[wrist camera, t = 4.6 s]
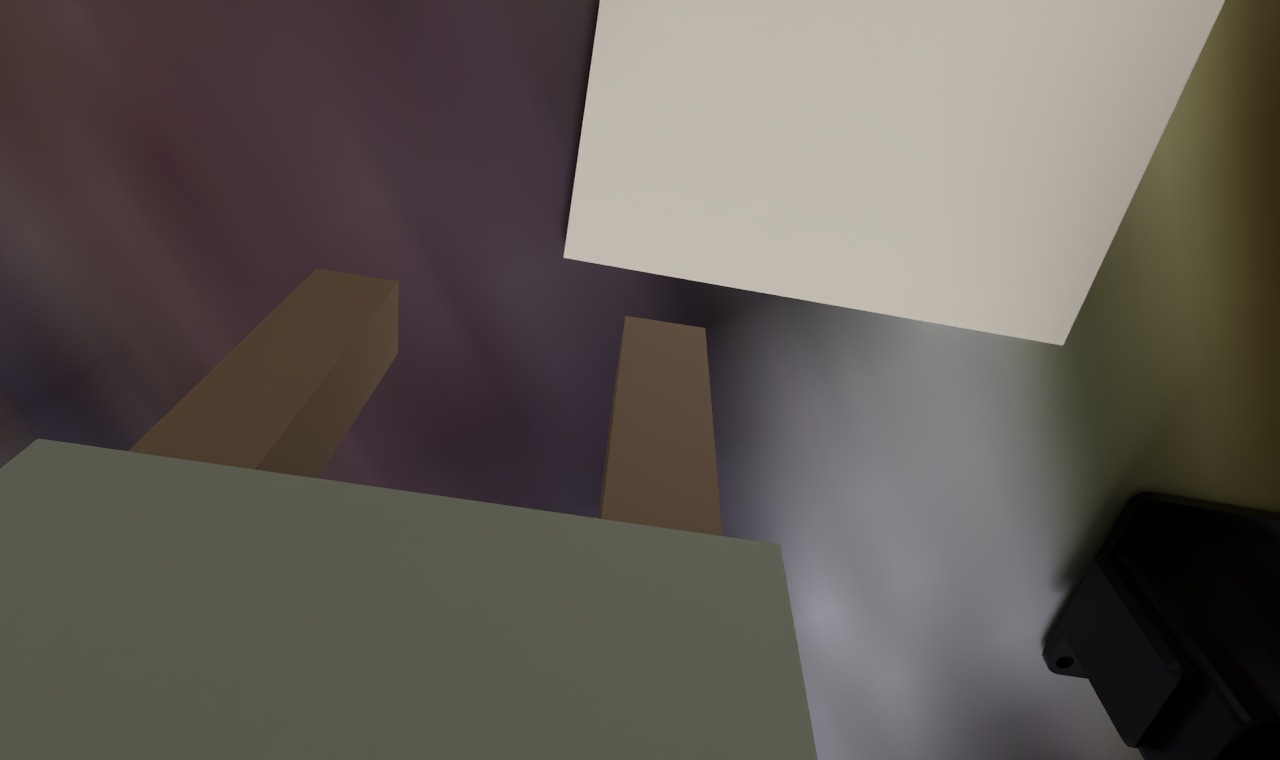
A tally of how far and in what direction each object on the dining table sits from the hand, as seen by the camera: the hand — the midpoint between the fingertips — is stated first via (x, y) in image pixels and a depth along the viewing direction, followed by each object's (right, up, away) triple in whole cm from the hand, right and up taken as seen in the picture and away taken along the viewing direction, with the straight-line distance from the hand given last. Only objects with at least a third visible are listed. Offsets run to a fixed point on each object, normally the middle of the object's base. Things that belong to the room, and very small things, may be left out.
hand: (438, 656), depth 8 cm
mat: (+7, +10, +9) cm, 15 cm away
